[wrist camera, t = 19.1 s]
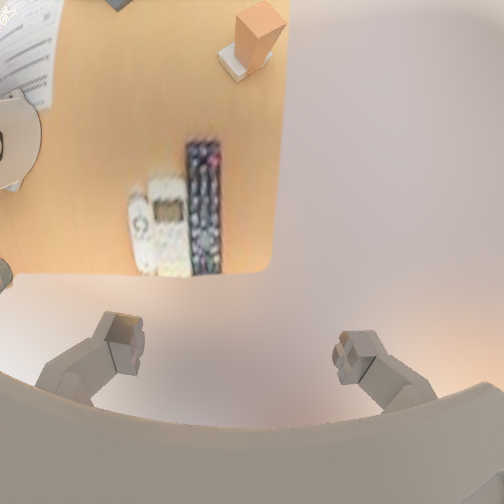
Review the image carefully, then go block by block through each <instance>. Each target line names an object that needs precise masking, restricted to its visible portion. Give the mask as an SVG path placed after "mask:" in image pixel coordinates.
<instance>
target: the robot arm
mask: <svg viewBox="0 0 504 504" xmlns="http://www.w3.org/2000/svg"><path fill="white" fill-rule="evenodd" d="M12 97H13V98H12ZM40 142H41V127H40V121H39V118H38V115H37V112H36V110H35V109H34V107H33V106H32V105H31V104H30V103H29V102H28V101H27V100H26V99H25V97H24V94H23V91H22V90H21V89H20V88H19V89H15V90H13V91H11V92H10V93H8V94H6V95H5V96H3V97H1V98H0V189H6V190H9V191H12V192H15V191H18V190H19V189H20V187H21V184H22V181H23V178H24V177H25V176H26V174H27V173H28V172H29V171H30V170H31V168H32V167H33V165H34V163H35V161H36V159H37V156H38V153H39V148H40ZM142 327H143V320H142V318H141V317H138V316H133V315H127V314H122V313H115V312H110V311H106V312H104V314H103V316H102V318H101V320H100V322H99V324H98V326H97V328H96V330H95V332H94V334H93V336H92V338H87V339H85V340H83V341H82V342H80V343H78V344H77V345H75V346H73V347H72V348H70V349H69V350H67V351H65V352H64V353H62V354H60V355H59V356H57V357H56V358H54V359H52V360H51V361H49V362H47V363H46V364H45V366H44V368H43V370H42V372H41V374H40V376H39V378H38V380H37V382H36V384H35V387H34V386H31V385H29V384H27V383H24V382H22V381H20V380H18V379H15V378H13V377H11V376H9V375H7V374H5V373H3V372H1V371H0V504H504V392H503V391H501V390H500V389H498V388H497V387H495V386H494V385H492V384H490V383H488V382H482V383H479V384H477V385H474V386H472V387H469V388H467V389H464V390H462V391H459V392H456V393H454V394H451V395H448V396H445V397H443V398H440V399H438V398H437V396H436V394H435V392H434V391H433V389H432V387H431V385H430V384H429V382H428V380H427V379H425V378H424V377H422V376H421V375H419V374H418V373H417V372H415V371H414V370H412V369H411V368H409V367H408V366H406V365H405V364H404V363H402V362H401V361H399V360H398V359H396V358H395V357H393V356H392V355H388V353H387V351H386V350H385V348H384V346H383V344H382V343H381V341H380V339H379V337H378V336H377V334H376V332H375V331H373V330H367V331H343V332H342V333H341V334H340V337H339V339H340V342H339V343H338V344H336V345H335V347H334V349H333V354H332V359H333V363H334V366H336V367H337V368H338V369H339V370H338V373H337V374H338V377H339V380H340V382H341V385H348V384H358V385H359V386H360V387H361V388H362V389H363V390H364V391H365V392H366V393H367V394H368V395H369V396H371V398H372V399H373V400H374V401H376V403H377V404H378V405H379V406H380V407H381V408H382V409H383V410H384V411H383V412H382V413H381V414H380V415H376V416H371V417H366V418H360V419H354V420H348V421H342V422H334V423H326V424H318V425H307V426H295V427H277V428H231V427H230V428H229V427H210V426H198V425H188V424H178V423H171V422H163V421H157V420H151V419H145V418H140V417H135V416H130V415H124V414H120V413H116V412H111V411H108V410H104V409H100V408H96V407H94V405H93V403H92V401H91V399H90V398H91V397H92V396H93V395H94V394H95V393H97V392H98V391H99V390H100V389H101V388H102V387H103V386H104V385H105V384H106V383H107V382H109V381H110V380H111V379H112V378H113V377H114V376H115V375H116V374H117V373H120V374H127V375H132V376H137V373H138V370H139V366H140V360H139V357H141V356H142V355H143V351H144V345H145V336H144V332H143V331H142Z"/></svg>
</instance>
